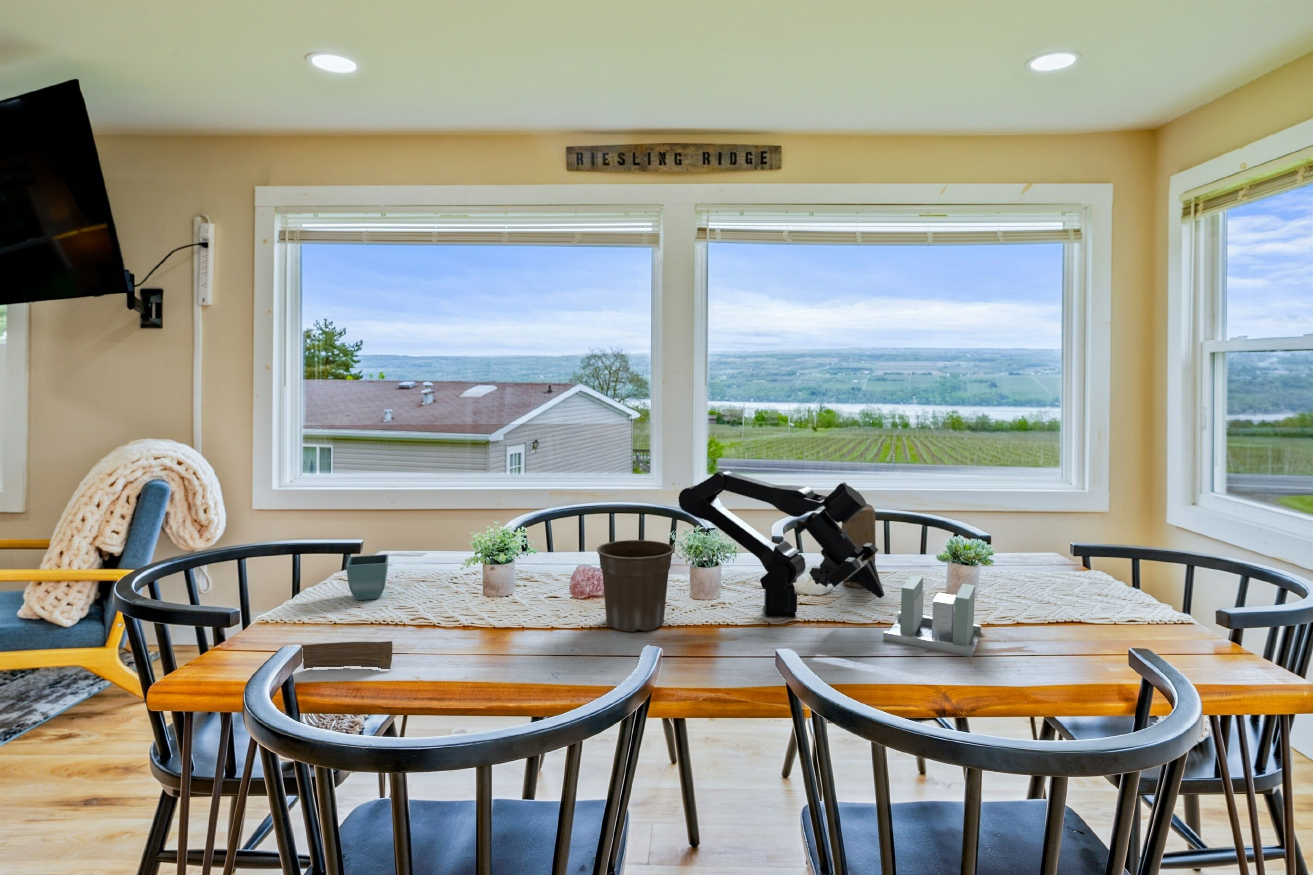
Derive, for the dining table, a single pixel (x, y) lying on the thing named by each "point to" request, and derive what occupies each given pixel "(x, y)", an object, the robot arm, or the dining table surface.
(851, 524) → the block
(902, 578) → the dining table surface
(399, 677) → the dining table surface
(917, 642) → the vise base
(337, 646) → the wood plank
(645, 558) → the plant pot
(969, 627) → the fixed jaw
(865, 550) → the robot arm
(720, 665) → the dining table surface
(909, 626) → the bar
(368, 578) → the flower pot
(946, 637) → the steel block
